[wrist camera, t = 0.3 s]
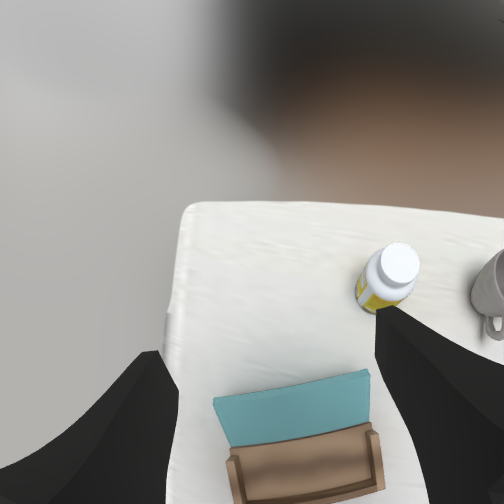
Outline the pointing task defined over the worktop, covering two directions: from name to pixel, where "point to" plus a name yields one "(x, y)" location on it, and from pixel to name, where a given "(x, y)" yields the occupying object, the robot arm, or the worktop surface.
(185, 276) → the worktop surface
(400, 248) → the pill bottle
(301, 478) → the wooden box
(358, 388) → the teal box lid
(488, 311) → the mug
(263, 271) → the worktop surface
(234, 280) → the worktop surface
